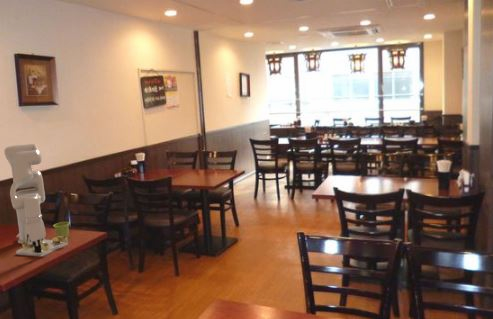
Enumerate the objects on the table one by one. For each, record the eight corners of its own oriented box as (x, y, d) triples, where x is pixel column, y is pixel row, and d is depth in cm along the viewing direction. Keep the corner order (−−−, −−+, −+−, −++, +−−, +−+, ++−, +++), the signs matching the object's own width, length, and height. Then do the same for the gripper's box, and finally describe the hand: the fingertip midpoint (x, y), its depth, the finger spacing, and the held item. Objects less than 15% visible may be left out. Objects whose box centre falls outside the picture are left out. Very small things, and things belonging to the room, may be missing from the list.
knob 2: (51, 242, 254) (50, 236, 253) (56, 239, 258) (56, 234, 258) (64, 243, 250) (63, 237, 250) (69, 240, 254) (69, 235, 254)
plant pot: (65, 240, 265) (63, 226, 264) (51, 240, 267) (49, 226, 266) (74, 235, 274) (72, 221, 273) (61, 235, 276) (59, 221, 275)
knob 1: (31, 250, 241) (30, 245, 241) (38, 248, 245) (37, 242, 245) (45, 251, 238) (44, 246, 237) (51, 249, 242) (50, 243, 241)
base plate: (16, 254, 245) (15, 246, 244) (44, 242, 263) (43, 235, 262) (41, 256, 238) (40, 249, 237) (67, 244, 256) (67, 237, 256)
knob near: (34, 242, 255) (33, 237, 255) (40, 243, 254) (39, 237, 253) (20, 248, 246) (19, 242, 246) (26, 249, 245) (25, 243, 244)
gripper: (39, 215, 241) (43, 247, 244) (16, 223, 228) (21, 256, 230) (50, 215, 239) (54, 247, 241) (27, 223, 225) (32, 257, 227)
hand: (38, 252), depth 236 cm, fingers closed
